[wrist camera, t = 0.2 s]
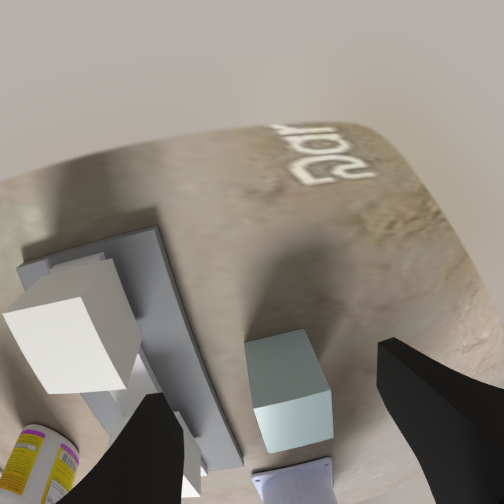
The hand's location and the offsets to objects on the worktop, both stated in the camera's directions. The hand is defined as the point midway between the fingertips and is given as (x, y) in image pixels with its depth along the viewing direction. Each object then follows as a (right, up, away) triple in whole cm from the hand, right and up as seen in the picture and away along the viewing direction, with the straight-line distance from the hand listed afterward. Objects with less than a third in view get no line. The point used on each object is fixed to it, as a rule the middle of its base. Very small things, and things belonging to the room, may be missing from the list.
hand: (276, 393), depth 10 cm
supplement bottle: (-21, -15, +13) cm, 29 cm away
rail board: (-9, -5, +11) cm, 15 cm away
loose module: (+1, -3, +11) cm, 12 cm away
